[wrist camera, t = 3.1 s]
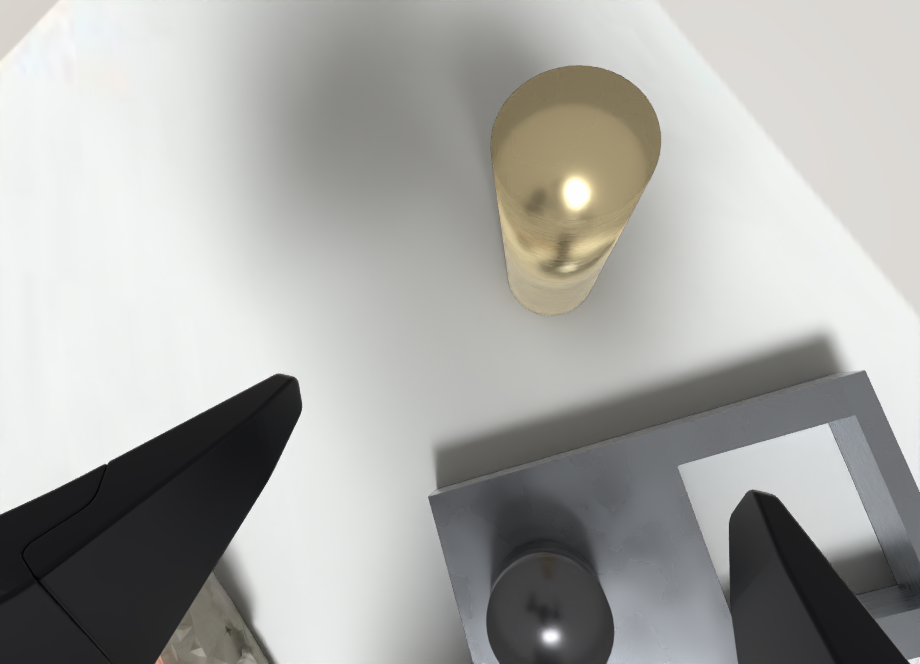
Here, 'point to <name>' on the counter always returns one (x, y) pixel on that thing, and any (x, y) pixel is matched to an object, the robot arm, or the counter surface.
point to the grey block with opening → (654, 536)
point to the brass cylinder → (569, 179)
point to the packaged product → (212, 632)
